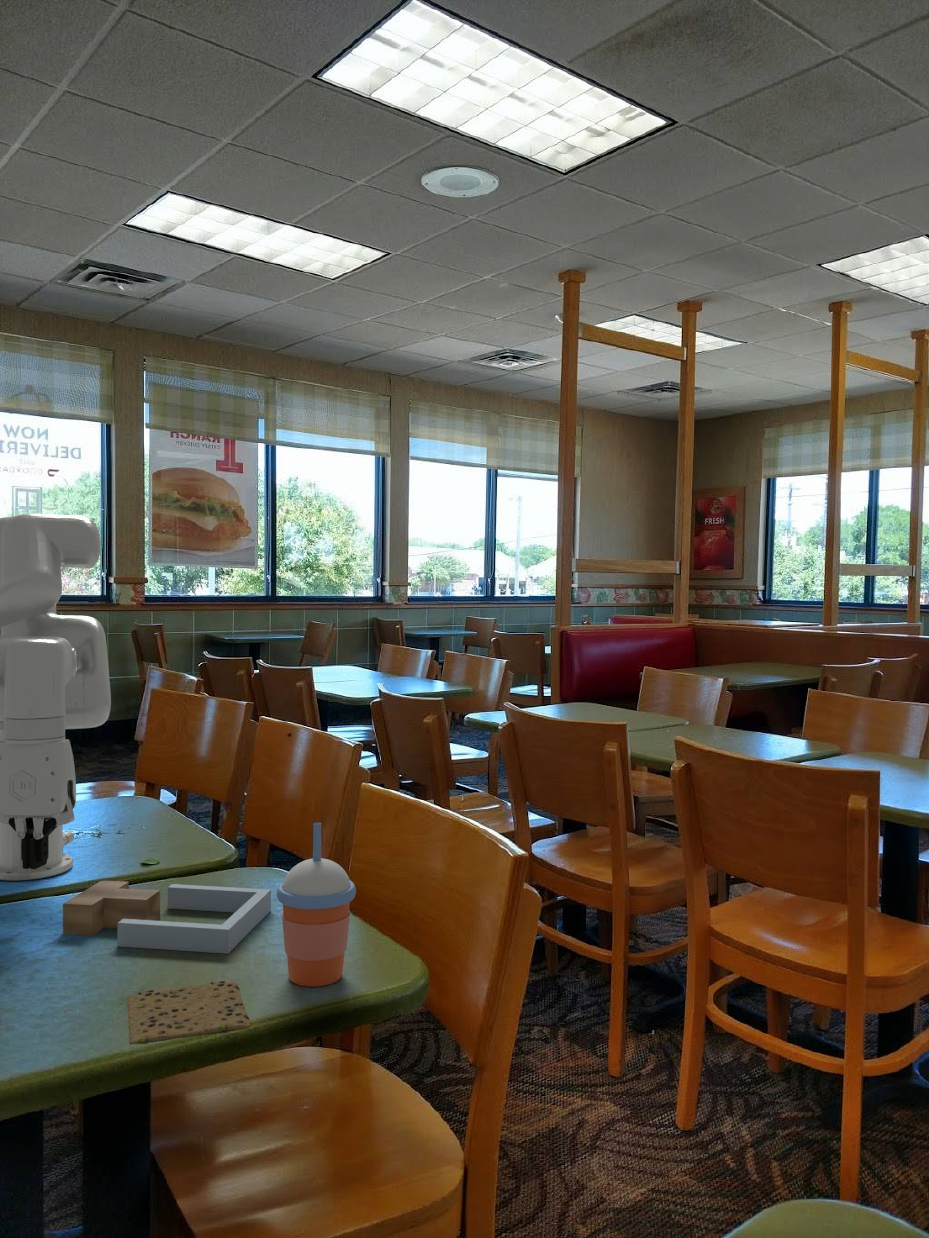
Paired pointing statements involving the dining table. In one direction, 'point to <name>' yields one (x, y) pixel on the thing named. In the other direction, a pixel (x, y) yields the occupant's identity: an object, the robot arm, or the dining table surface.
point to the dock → (197, 935)
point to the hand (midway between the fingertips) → (34, 866)
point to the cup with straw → (316, 918)
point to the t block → (108, 907)
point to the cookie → (185, 1012)
